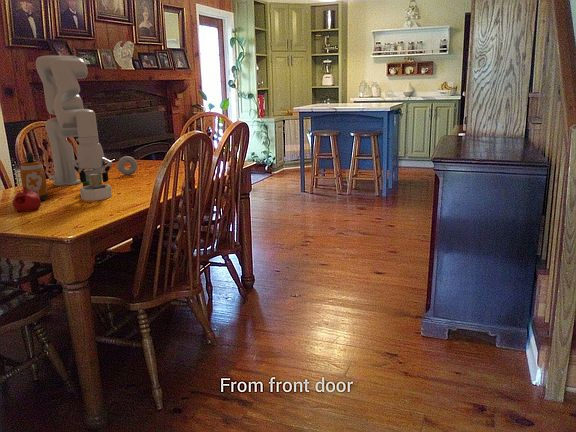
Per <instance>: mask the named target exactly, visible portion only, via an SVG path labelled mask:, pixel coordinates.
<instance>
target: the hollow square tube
mask: <svg viewBox="0 0 576 432" xmlns="http://www.w3.org/2000/svg"><path fill="white" fill-rule="evenodd" d="M100 185H101V186H99V187H90V186H88V187H86V190H95V189H101V188H105V183H102V184H100Z"/></svg>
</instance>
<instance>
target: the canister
mask: <svg viewBox="0 0 576 432" xmlns="http://www.w3.org/2000/svg"><path fill="white" fill-rule="evenodd" d="M25 154H26V157H25V158H23V159H22V160H20V171H19V173H20V180H21V184H22V190H24V189H23V187H24V186H26V189H28V191H31V190H32V191H31V192H35V193H37V194H38V195H39V197H40V202H41V201H45V200H47V199H48V198H49V194H48V193H49V192H48V191H49V190H48V186H47V185H48V184H47V180H46V178H47V177H46V172H45V169H44V168H43V164H42V161H40V160H39V161H38V160H35V161H34V159H35V158H34V155H33V152H30V153H28V152H26V153H25Z"/></svg>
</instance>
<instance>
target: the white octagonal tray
mask: <svg viewBox="0 0 576 432" xmlns="http://www.w3.org/2000/svg"><path fill="white" fill-rule="evenodd" d="M104 184H105V183H104ZM89 186H90V185H89ZM86 187H88V186H84V187H83V186H82V187H79V192H80V198H81V200H83V201H84V202H86V201H87V202H89V201H91V202H93V201H94V202H95V201H101V200H107V199H109V198H111V197H112V196H113V194H112V185H110V184H107V183H106V184H105V188H101V189H95V190H86Z"/></svg>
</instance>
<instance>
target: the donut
mask: <svg viewBox="0 0 576 432" xmlns="http://www.w3.org/2000/svg"><path fill="white" fill-rule="evenodd" d="M126 163H128V164H129V165H130V167H129V168H126V167H125V164H126ZM116 167H117V170H118V171H119V172H120V174H122V175H125V176H132V175H133V174H135V172H136V171H137V170H138V163H137V161H136V159H135V158H134V157H132V156H127V155H125V156H122V157H120V158H119V159H118V161H117V166H116Z"/></svg>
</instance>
